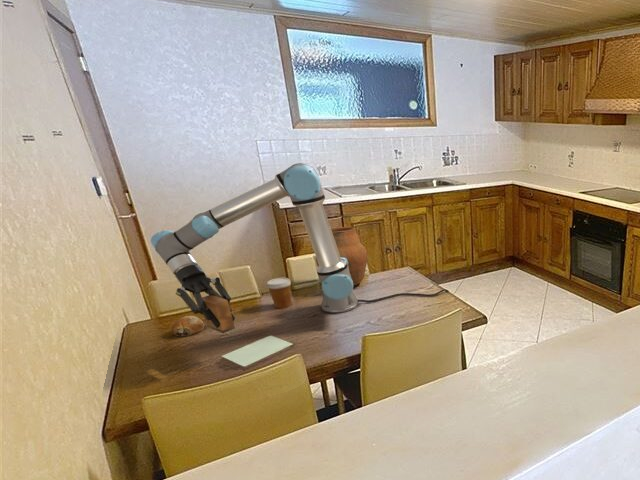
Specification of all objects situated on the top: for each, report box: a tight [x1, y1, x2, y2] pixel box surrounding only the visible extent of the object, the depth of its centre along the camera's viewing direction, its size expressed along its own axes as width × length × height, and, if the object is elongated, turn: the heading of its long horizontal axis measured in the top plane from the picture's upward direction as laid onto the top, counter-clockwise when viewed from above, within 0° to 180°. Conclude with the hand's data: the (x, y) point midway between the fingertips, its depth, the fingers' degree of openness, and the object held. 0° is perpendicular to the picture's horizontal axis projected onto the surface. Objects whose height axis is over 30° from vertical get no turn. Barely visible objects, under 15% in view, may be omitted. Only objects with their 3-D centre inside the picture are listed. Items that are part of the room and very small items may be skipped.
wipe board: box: [221, 334, 293, 367], centre depth 156 cm, size 18×14×1 cm
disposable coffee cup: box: [266, 277, 292, 309], centre depth 193 cm, size 10×10×12 cm
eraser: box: [202, 294, 236, 334], centre depth 148 cm, size 4×10×11 cm, turn 62°
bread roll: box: [172, 315, 206, 337], centre depth 170 cm, size 10×10×8 cm
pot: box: [314, 226, 368, 287], centre depth 215 cm, size 24×24×30 cm
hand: (225, 322), depth 148 cm, fingers closed on eraser, 4 cm apart
